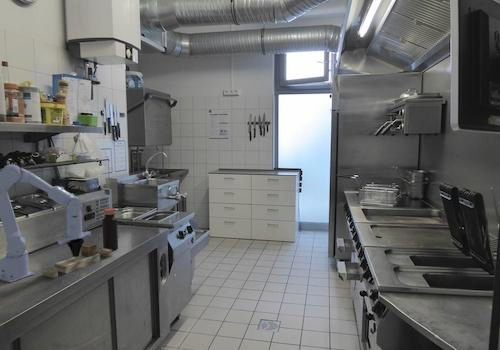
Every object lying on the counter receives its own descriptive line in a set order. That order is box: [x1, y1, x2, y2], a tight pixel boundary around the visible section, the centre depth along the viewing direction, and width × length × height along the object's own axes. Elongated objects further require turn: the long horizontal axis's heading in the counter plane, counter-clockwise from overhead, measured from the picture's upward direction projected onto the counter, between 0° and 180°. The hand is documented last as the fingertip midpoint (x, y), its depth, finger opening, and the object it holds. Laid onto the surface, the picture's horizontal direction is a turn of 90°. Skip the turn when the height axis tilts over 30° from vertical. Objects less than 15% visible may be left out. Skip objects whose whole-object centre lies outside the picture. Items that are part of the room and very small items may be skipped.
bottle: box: [101, 208, 119, 252], centre depth 173 cm, size 7×7×20 cm
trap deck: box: [42, 247, 113, 279], centre depth 153 cm, size 29×7×3 cm, turn 154°
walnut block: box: [80, 242, 98, 257], centre depth 157 cm, size 4×4×4 cm
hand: (75, 256), depth 151 cm, fingers closed
